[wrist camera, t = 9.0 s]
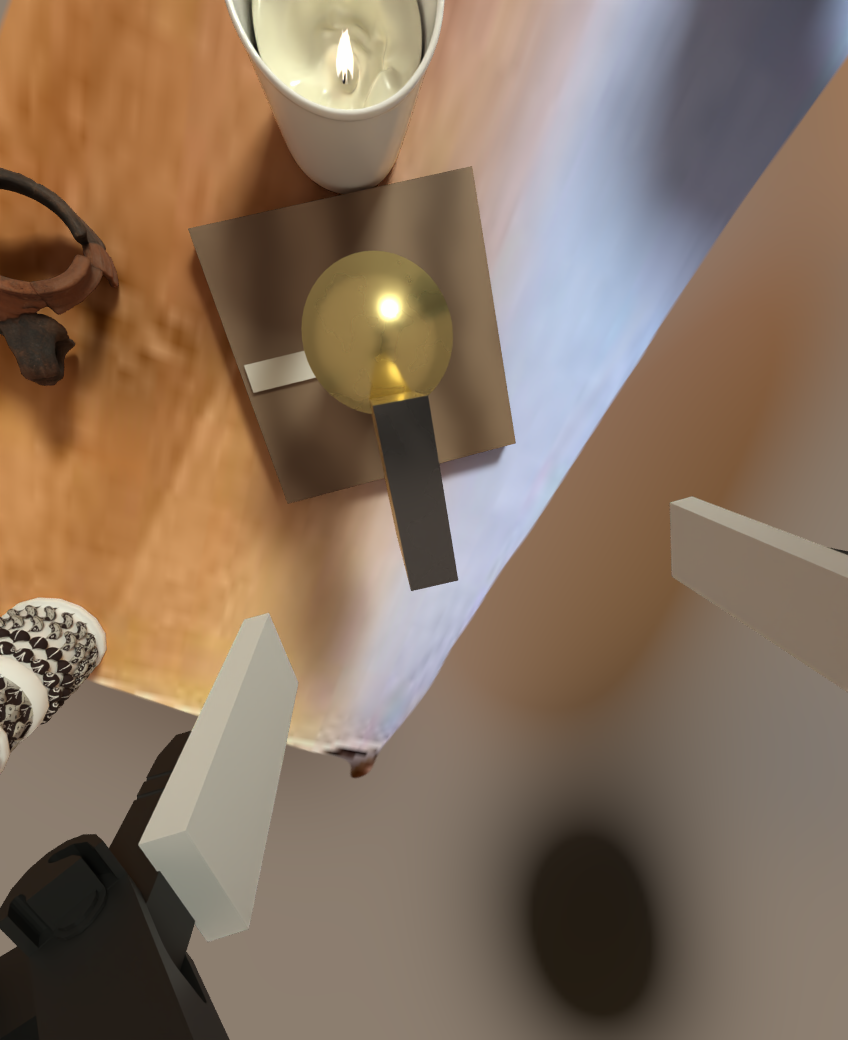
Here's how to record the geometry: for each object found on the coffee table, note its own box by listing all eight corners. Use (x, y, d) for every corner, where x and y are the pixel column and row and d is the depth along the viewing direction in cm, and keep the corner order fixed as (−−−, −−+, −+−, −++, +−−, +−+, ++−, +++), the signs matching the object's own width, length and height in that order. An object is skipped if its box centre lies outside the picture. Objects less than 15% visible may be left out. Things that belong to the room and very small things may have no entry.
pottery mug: (-65, 232, 29) (-139, 131, 22) (103, 243, 34) (88, 163, 27) (-6, 408, 30) (-57, 366, 23) (149, 394, 35) (146, 356, 28)
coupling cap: (289, 275, 23) (256, 224, 16) (432, 252, 24) (469, 192, 16) (355, 541, 29) (355, 603, 21) (470, 516, 29) (511, 568, 22)
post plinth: (465, 178, 32) (510, 96, 23) (508, 440, 39) (556, 460, 29) (198, 237, 31) (128, 176, 21) (291, 497, 37) (269, 537, 28)
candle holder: (371, 237, 32) (379, 165, 21) (244, 148, 29) (177, 8, 18) (437, 103, 30) (486, -58, 19) (309, -8, 27) (277, -272, 16)
